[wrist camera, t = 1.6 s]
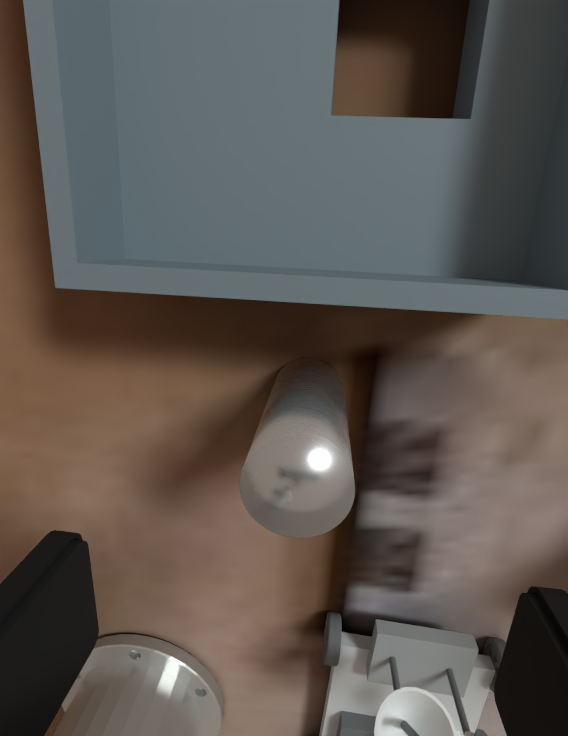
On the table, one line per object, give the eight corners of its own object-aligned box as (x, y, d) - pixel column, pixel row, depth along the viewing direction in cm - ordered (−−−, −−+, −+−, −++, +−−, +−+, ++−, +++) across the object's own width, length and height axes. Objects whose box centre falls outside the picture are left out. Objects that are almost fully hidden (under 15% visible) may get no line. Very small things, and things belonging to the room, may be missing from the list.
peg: (340, 425, 24) (349, 543, 15) (272, 419, 25) (238, 531, 15) (346, 359, 23) (360, 442, 14) (275, 354, 23) (240, 431, 14)
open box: (510, 296, 21) (594, 320, 15) (134, 274, 23) (55, 287, 16) (621, -244, 15) (844, -611, 9) (105, -223, 17) (-36, -522, 10)
